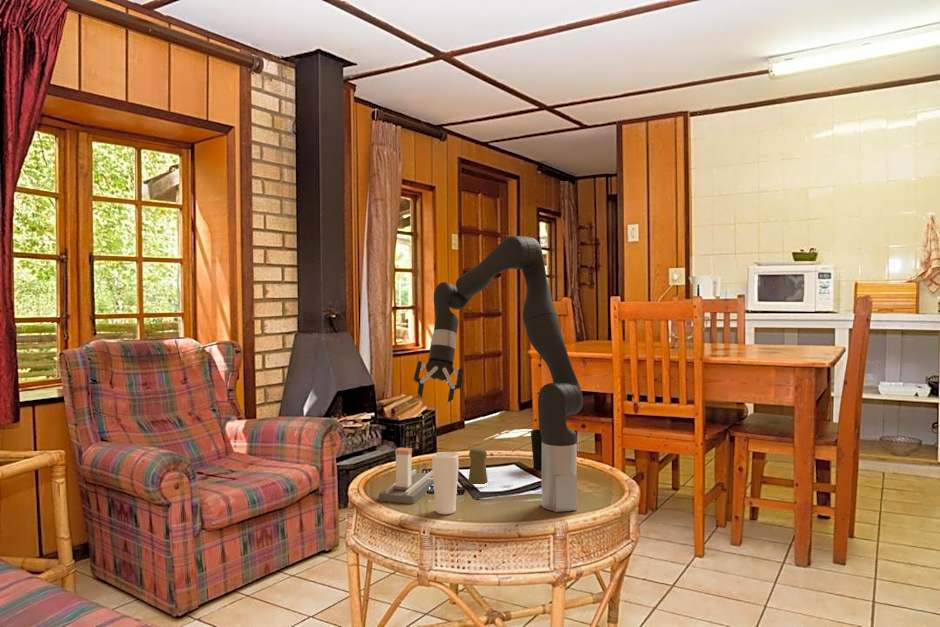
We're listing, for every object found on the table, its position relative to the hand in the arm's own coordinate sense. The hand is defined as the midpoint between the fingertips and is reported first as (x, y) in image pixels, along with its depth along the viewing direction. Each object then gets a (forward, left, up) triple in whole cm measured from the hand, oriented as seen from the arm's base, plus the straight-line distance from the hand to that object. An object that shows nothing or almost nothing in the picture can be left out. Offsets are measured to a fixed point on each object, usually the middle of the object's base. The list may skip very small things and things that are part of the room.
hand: (434, 399), depth 209 cm
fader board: (-4, +8, -25) cm, 27 cm away
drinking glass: (-26, +4, -25) cm, 37 cm away
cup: (+7, -38, -25) cm, 46 cm away
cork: (-5, -12, -26) cm, 29 cm away
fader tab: (-9, +11, -23) cm, 27 cm away
